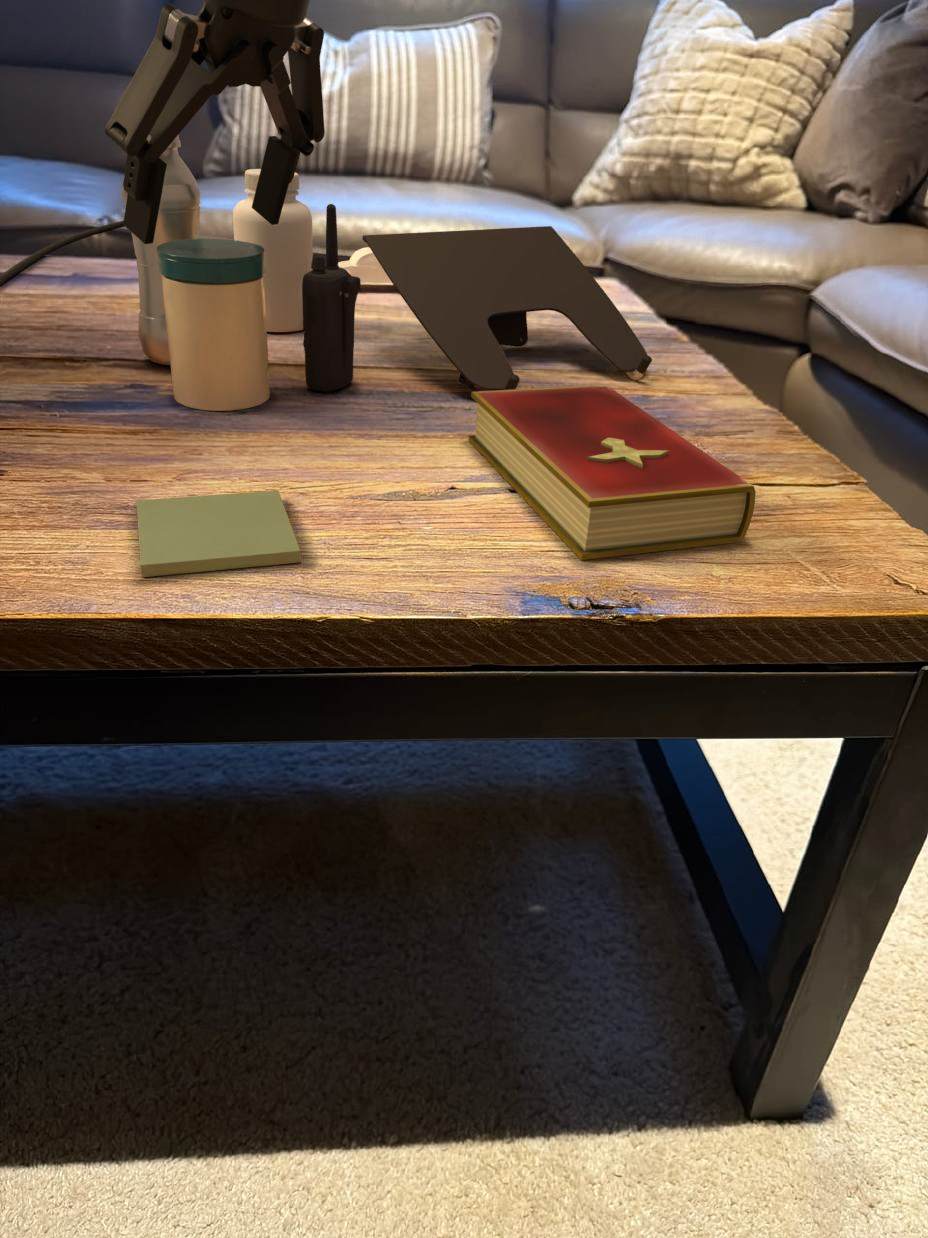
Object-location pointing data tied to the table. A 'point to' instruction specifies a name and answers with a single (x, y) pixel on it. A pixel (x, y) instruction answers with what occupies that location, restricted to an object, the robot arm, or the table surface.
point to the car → (366, 268)
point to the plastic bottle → (172, 225)
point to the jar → (217, 343)
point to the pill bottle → (279, 252)
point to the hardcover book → (609, 472)
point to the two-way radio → (329, 316)
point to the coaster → (214, 533)
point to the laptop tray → (500, 296)
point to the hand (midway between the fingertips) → (205, 224)
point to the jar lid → (211, 260)
